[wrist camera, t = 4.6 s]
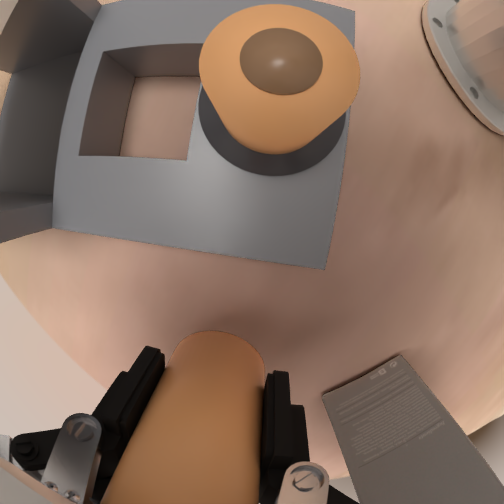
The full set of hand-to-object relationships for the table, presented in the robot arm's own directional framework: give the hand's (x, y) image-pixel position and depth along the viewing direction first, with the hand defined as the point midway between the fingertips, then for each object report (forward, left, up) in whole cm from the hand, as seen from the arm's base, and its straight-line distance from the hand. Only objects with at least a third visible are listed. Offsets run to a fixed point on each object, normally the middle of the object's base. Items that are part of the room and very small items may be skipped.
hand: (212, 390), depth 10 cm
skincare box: (-12, +6, -6) cm, 15 cm away
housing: (+9, -11, -6) cm, 15 cm away
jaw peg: (0, 0, -1) cm, 1 cm away
